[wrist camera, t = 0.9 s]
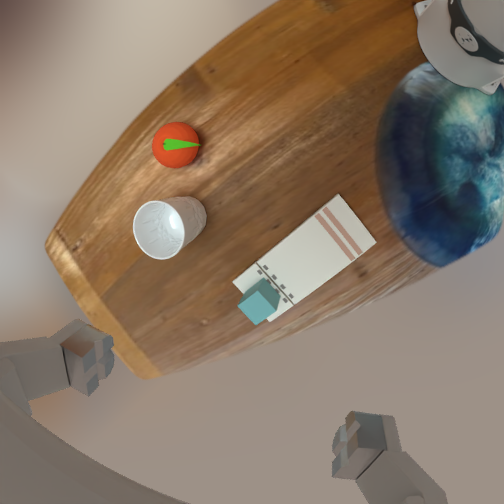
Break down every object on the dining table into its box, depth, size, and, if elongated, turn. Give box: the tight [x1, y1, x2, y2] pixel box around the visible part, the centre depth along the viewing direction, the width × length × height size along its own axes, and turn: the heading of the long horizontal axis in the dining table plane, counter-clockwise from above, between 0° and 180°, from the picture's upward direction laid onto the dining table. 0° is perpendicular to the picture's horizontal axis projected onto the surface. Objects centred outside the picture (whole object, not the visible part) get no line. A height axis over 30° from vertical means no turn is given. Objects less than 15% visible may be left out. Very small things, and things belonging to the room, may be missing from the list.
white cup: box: [133, 196, 207, 259], centre depth 42 cm, size 8×8×10 cm
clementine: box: [152, 122, 200, 168], centre depth 40 cm, size 8×7×7 cm
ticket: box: [257, 194, 377, 304], centre depth 43 cm, size 16×9×1 cm, turn 133°
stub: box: [233, 261, 294, 325], centre depth 45 cm, size 5×9×6 cm, turn 43°
